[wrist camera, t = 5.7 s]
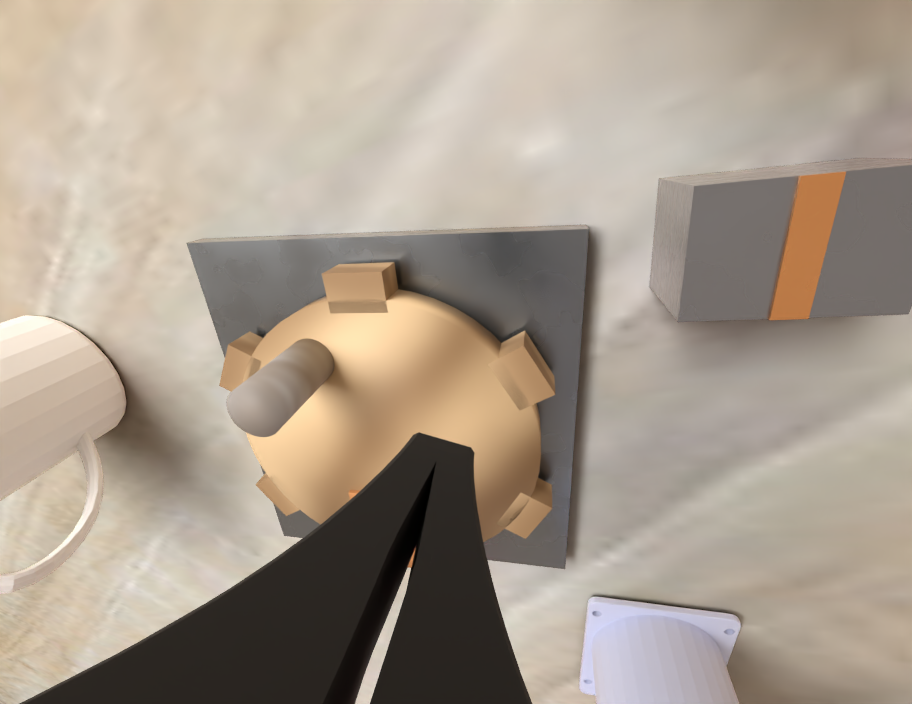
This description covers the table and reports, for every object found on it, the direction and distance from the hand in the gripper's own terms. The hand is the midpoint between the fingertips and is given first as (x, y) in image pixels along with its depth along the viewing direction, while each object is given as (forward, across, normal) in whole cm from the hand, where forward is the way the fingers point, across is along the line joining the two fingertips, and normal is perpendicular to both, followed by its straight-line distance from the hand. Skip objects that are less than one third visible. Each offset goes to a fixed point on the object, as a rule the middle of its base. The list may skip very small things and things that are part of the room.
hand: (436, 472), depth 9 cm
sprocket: (+9, +3, +6) cm, 11 cm away
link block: (+10, -8, -6) cm, 14 cm away
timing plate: (+10, +3, +6) cm, 12 cm away
